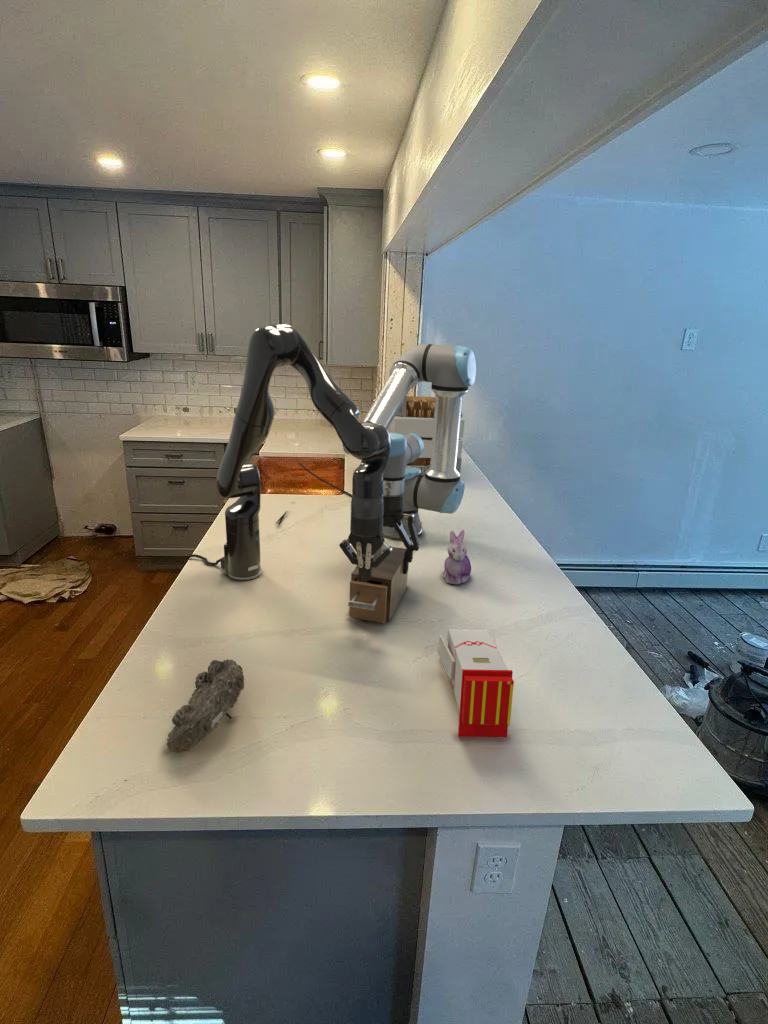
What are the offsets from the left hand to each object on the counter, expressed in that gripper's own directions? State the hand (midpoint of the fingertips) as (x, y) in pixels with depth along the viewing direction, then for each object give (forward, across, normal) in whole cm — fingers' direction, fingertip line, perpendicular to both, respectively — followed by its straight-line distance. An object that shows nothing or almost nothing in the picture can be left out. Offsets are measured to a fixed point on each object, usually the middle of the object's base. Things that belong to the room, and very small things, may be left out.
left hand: (365, 580), depth 135 cm
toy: (+14, +28, -16) cm, 35 cm away
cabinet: (+13, 0, +16) cm, 21 cm away
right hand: (+6, 0, +21) cm, 22 cm away
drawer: (+12, 0, +10) cm, 16 cm away
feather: (+13, -51, +68) cm, 86 cm away
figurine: (+13, +18, +36) cm, 42 cm away
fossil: (+13, -18, -39) cm, 45 cm away
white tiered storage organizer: (+13, -16, +144) cm, 146 cm away
